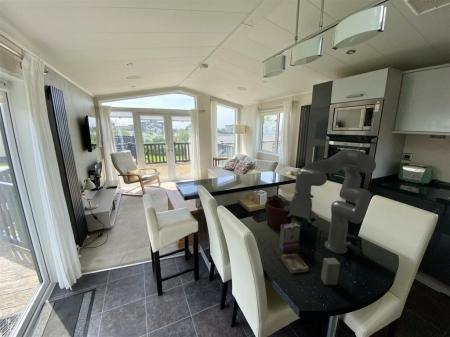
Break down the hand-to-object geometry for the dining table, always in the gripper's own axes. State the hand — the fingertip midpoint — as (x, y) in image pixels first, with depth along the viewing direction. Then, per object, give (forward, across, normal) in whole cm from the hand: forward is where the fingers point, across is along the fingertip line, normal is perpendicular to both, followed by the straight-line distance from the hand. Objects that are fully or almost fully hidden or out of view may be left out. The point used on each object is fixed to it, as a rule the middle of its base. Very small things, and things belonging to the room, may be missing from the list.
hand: (298, 225), depth 101 cm
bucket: (+25, +24, -38) cm, 51 cm away
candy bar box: (+25, +8, -14) cm, 30 cm away
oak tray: (+25, 0, -1) cm, 25 cm away
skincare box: (+25, -17, +1) cm, 30 cm away
